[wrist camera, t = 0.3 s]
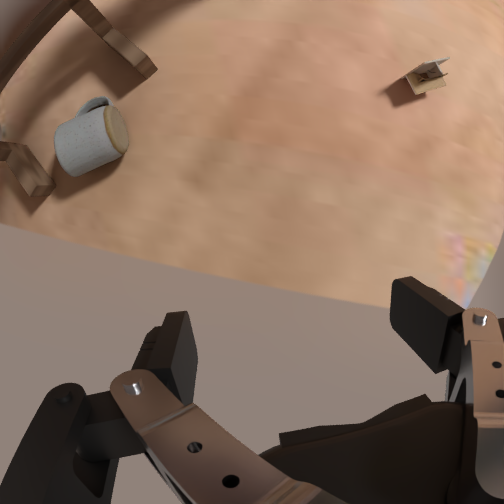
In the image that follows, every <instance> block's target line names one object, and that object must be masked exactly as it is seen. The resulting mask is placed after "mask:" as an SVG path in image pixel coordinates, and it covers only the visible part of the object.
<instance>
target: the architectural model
mask: <svg viewBox="0 0 504 504" xmlns="http://www.w3.org/2000/svg"><path fill="white" fill-rule="evenodd" d="M448 59H450V57H447V58H442V59H437V60H432V61H428V62H424V63H422V64H421V65H419V66H418V67H416V68H415V69H413V70H412V71H410V72H409V73H407V74H406V75H404V76H403V77H401V79H404V78H407V80H408V82H409V84H410V86H411V88H412V90H413V92H414V93H415V95H417V94H420V93H424V92H427V91H430V90H433V89H437V88H440V87H443V86H446V83H445V81H444V79H443V76H445V75H447V74H448V73H446V74H443V72H442V70H441V69H440V67H439V64H441V63H443V62H445V61H446V60H448ZM422 73H427V75H428V77H429V78H428V79H425V78H422V77H421V75H420V74H422ZM423 79H424V80H423Z"/></svg>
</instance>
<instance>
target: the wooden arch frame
mask: <svg viewBox="0 0 504 504" xmlns="http://www.w3.org/2000/svg"><path fill="white" fill-rule="evenodd" d="M70 9H72V10H73V11H74V12H75V13H76V14H77V15H78V16H79V17H80V18H81V19H82V20H83V21H85V22H86V23H87V24H88V25H89V26H90V27H91V28H92V29H93V30H94V31H95V32H96V33H97V34H98V35H99V36H100V37H101V38H102V39H103V40H104V41H105V42H106V43H107V44H108V45H109V46H110V47H111V48H112V49H114V50H115V51H116V52H117V53H118V54H119V55H121V56H122V57H123V58H124V59H125V60H126V61H127V62H128V63H130V64H131V65H132V66H133V67H134V68H135V69H136V70H137V71H139V72H140V73H141V74H142V75H143V76H144V77H145V78H146V79H148V78H149V77H150V76H151V75H152V74H153V73H154V72H155V71H157V70H158V69H157V67H156V66H155V65H154V63H153V62H152V61H151V59H150V58H149V57H148V56H147V55H146V54H145V53H144V52H143V51H142V50H140V49H139V48H138V47H137V46H136V45H134V44H133V43H132V42H131V41H130V40H128V39H127V38H126V37H125V36H123V35H122V34H121V33H120V32H118V31H117V30H116V29H115V28H113V27H112V25H111V24H110V23H109V22H108V21H107V20H106V18H105V17H104V16H103V15H102V14H101V13H100V12H99V11H98V9H97V8H96V7H95V6H94V5H93V4H92V3H91V1H90V0H52V1H51V2H50V3H49V4H48V5H47V6H46V7H45V8H44V9H43V10H42V11H41V12H40V13H39V14H38V15H37V16H36V17H35V18H34V19H33V21H32V22H31V23H30V24H29V25H28V26H27V27H26V28H25V30H24V31H23V32H22V33H21V34H20V36H19V37H18V38H17V40H15V42H14V43H13V44H12V45H11V47H10V48H9V49H8V51H7V52H6V53H5V55H4V56H3V57H2V59H1V60H0V93H1V92H2V90H3V89H4V87H5V86H6V84H7V83H8V81H9V80H10V79H11V77H12V76H13V74H14V73H15V72H16V70H17V69H18V68H19V66H20V65H21V64H22V63H23V61H24V60H25V59H26V57H27V56H28V55H29V54H30V53H31V51H32V50H33V49H34V48H35V47H36V45H37V44H38V43H39V42H40V41H41V40H42V38H43V37H44V36H45V35H46V34H47V33H48V32H49V31H50V30H51V29H52V27H53V26H54V25H55V24H56V23H57V22H58V21H59V20H60V19H61V18H62V17H63V16H64V15H65V14H66V13H67V12H68V11H69V10H70ZM0 161H6V162H7V164H8V166H9V167H10V169H11V170H12V172H13V173H14V175H15V176H16V178H17V179H18V181H19V182H20V184H21V185H22V187H23V188H24V189H25V191H26V192H27V194H28V195H29V197H33V196H47V195H50V194H51V192H52V191H53V189H54V188H55V186H56V184H55V183H54V182H53V180H52V179H51V178H50V176H49V175H48V174H47V173H46V171H45V170H44V169H43V167H42V166H41V165H40V163H39V162H38V161H37V159H36V158H35V156H34V155H33V154H32V152H31V151H30V149H29V148H28V147H27V145H23V144H16V143H9V142H2V141H0Z"/></svg>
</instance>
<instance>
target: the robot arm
mask: <svg viewBox="0 0 504 504" xmlns="http://www.w3.org/2000/svg"><path fill="white" fill-rule="evenodd" d="M390 322H391V325H392V328H393V329H394V330H395V331H396V332H397V333H398V334H399V335H400V337H401V338H402V339H403V340H404V341H405V342H406V343H407V344H408V345H409V346H410V347H411V348H412V349H413V350H414V351H415V352H416V354H417V355H418V356H419V357H420V358H421V359H422V360H423V361H424V362H425V363H426V364H427V365H428V366H429V368H430V369H431V370H432V371H433V372H434V373H435V374H437V373H439V372H442V371H444V370H446V369H448V370H449V372H448V376H447V381H446V393H445V401H441V402H431V400H430V399H429V398H428V397H427V396H426V394H423V395H421V396H418V397H415V398H413V399H410V400H407V401H404V402H402V403H399V404H396V405H394V406H392V407H390V408H389V409H387V410H385V411H383V412H382V413H380V414H378V415H377V416H375V417H373V418H372V419H369V420H367V421H366V422H363V423H360V424H346V425H330V426H329V425H328V426H316V427H311V428H306V429H302V430H296V431H290V432H284V433H279V438H280V445H278V446H275V447H272V448H271V449H268V450H266V451H265V452H262V453H261V454H259V455H257V454H256V453H254V452H253V451H252V450H250V449H249V448H248V447H246V446H245V445H244V444H243V443H241V442H240V441H239V440H237V439H236V438H235V437H234V436H232V435H231V434H230V433H229V432H228V431H226V430H225V429H224V428H223V427H221V426H220V425H219V424H218V423H217V422H215V421H214V420H213V419H212V418H211V417H210V416H208V415H207V414H206V413H205V412H204V411H203V410H202V409H201V408H199V407H198V406H197V405H196V404H194V403H193V396H194V388H195V380H196V372H197V364H198V356H197V348H196V344H195V340H194V335H193V332H192V327H191V323H190V318H189V315H188V312H187V311H180V312H170V313H167V314H166V317H165V319H164V322H163V324H162V326H158V327H154V328H153V329H152V330H151V331H150V332H149V333H147V335H146V337H145V339H144V341H143V344H142V346H141V348H140V351H139V353H138V356H137V358H136V360H135V362H134V364H133V367H132V369H131V370H130V371H127V372H124V373H122V374H120V375H119V376H117V377H116V378H115V379H114V380H113V381H112V383H111V385H110V391H106V392H102V393H97V394H92V395H86V393H85V391H84V389H83V387H82V386H80V385H78V384H76V383H65V384H61V385H59V386H57V387H55V388H53V389H52V390H51V391H49V392H48V394H47V395H46V397H45V398H44V400H43V402H42V404H41V405H40V407H39V409H38V410H37V412H36V414H35V416H34V418H33V420H32V421H31V423H30V425H29V427H28V429H27V431H26V433H25V435H24V437H23V438H22V440H21V442H20V445H19V447H18V449H17V451H16V453H15V455H14V457H13V459H12V461H11V463H10V465H9V467H8V469H7V472H6V474H5V476H4V478H3V481H2V483H1V485H0V504H111V498H112V492H113V487H114V482H115V477H116V472H117V467H118V462H119V458H121V457H126V456H131V455H136V454H141V453H144V455H145V456H146V458H147V459H148V461H149V462H150V463H151V465H152V466H153V467H154V469H155V470H156V471H157V473H158V474H159V475H160V476H161V478H162V479H163V480H164V482H165V483H166V484H167V485H168V486H169V488H171V490H172V491H173V493H174V494H175V495H176V496H177V498H178V499H179V500H180V502H181V503H182V504H504V318H500V319H497V317H496V315H495V314H494V313H493V312H491V311H489V310H487V309H483V308H470V309H467V310H465V309H463V308H462V307H460V306H459V305H457V304H456V303H454V302H453V301H451V300H450V299H448V298H447V297H445V296H444V295H442V294H441V293H439V292H438V291H436V290H435V289H433V288H430V287H427V286H426V285H424V284H423V283H421V282H420V281H418V280H417V279H415V278H414V277H412V276H409V277H404V278H400V279H395V280H394V281H393V283H392V291H391V305H390Z"/></svg>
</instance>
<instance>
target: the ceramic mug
mask: <svg viewBox="0 0 504 504" xmlns="http://www.w3.org/2000/svg"><path fill="white" fill-rule="evenodd" d="M103 104H109V105H108V106H103V107H99V108H96V109H94V110H92V111H90V112H88V111H89V110H91V109H92V108H94V107H97V106H100V105H103ZM87 112H88V113H87ZM128 146H129V138H128V132H127V128H126V125H125V122H124V120H123V117H122V115H121V114H120V112H119V111H118V109H117V108H115V107H114V105H113V104H112V102H111V100H110V99H109V98H107V97H105V96H100V97H96V98H93V99H91V100H89V101H88V102H86V103H85V104H84V105H83V106H82V107H81V108H80V109H79V111H78V112H77V114H76V116H75V118H74V119H71V120H69V121H67V122H65V123H63V124H61V125H60V126H58V128H57V129H56V131H55V135H54V147H55V152H56V155H57V158H58V161H59V163H60V165H61V167H62V168H63V169H64V170H65V172H66V173H68V174H69V175H71V176H73V177H78V176H80V175H82V174H84V173H86V172H89V171H91V170H93V169H95V168H97V167H99V166H101V165H104V164H106V163H108V162H111V161H113V160H116V159H117V158H119V157H121V156H122V155H124V154H125V153H126V151H127V149H128Z"/></svg>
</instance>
